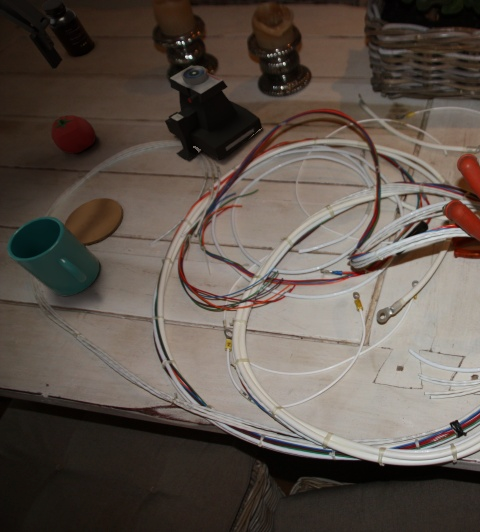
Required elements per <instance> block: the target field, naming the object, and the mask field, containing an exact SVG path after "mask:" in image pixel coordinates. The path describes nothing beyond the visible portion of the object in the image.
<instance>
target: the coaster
mask: <svg viewBox="0 0 480 532" xmlns="http://www.w3.org/2000/svg"><path fill="white" fill-rule="evenodd" d="M123 217H124V211H123V208H122V206H121V205H120V203H119V202H118V201H116V200H114V199H112V198H108V197H106V198H105V197H99V198H95V199H91V200H88V201H86V202H84V203H82V204H80V205H78V207H77V208H75V209H74V210H73V211H72V212H71V213H70V214H69V215H68V217H67V218H66V220H65V222H64V225H65V226H66V227H67V228H68V229H69V230H70V231H71V232H72V233H73V234H74V235H75V236H76V237H77V238H78V239H79V240H80V241H81V242H82V243H83V244H84V245H85V246H89V245H93V244H96V243H99V242H101V241H103V240H105V239H107V238H108V237H110V236H111V235H112V234H113V233H115V231H116V230H117V229H118V228H119V227H120V225H121V223H122V221H123Z"/></svg>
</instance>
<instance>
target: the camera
mask: <svg viewBox="0 0 480 532" xmlns="http://www.w3.org/2000/svg"><path fill="white" fill-rule="evenodd" d="M169 84H170V88H171V89H173V90H175V91H176V92H178V97H179V98H178V99H179V108H180V111H176V112H174V113H173V114H170V115H169V116H168V118H167V119H166V120H164V123H165V125H166V127H167V129H168V131H169V133H171V134H172V135H174V136H176V137H177V138H178V140H179V142H180V144H181V146H182V148H181V149H180V150H179V151H178V152H176V155H178V156H180V157H181V158H183V159H185V161H186V160H187V161H190V160H192V159H193V158H194V157H196V156H197V155H199V154H198V151H197V150H196V149H195V148H193V146H196V147H198V148H199V149H201V150H202V152H204V153H206V154H207V155H209V156H211V157H212V158H214V159H216V160H218V161H220V160H222V159H223V158H226V156H228V155H230V154H231V153H232V152H233V151H235V150H236V149H237V148H239V147H241V146H242V145H243V144H244V142H245V143H246V142H247V141H249V140H250V139H251V138H250V137H251V136H252V135H253V134H255V133H256V132H257V131H258V130H259V129H261V128H262V129H263V125H262V122H261V119H260V117H259V116H257V115H256V114H254V113H253V112H251V111H250V110H249V109H247V108H246V107H243V106H242V105H240V104H238V103H235V102H234V101H231V100H230V99H229V98H228V97H227V95H226V94H225V93H224V92H223V91H224V90H225V89H227V88H228V85H227V84H226V82H225V80H223V79H222V78H219V77H218V76H216V75H213V74H212V73H209V72H207V69H206V68H205V67H204V66H202V65H192V64H191V65H190V66H188V67H186V68H185V69H183V70H180V71H179V72H178V73H176V74H174V75H172V76H171V77H169ZM249 138H250V139H249ZM248 139H249V140H248Z"/></svg>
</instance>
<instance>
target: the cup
mask: <svg viewBox="0 0 480 532" xmlns="http://www.w3.org/2000/svg"><path fill="white" fill-rule="evenodd" d="M6 251H7V255H8V256H9V257H10V258H11V259H12V260H13V261H14V262H15V263H17V264H18V265H19V266H20V267H21V268H22V269H24V270H25V271H26V272H27V273H28V274H30V275H31V276H32V277H33V278H35V279H36V280H37V281H38V282H40V284H42V285H43V286H45V288H46V289H48V290H49V291H50V292H51V293H54V294H55V295H57V296H62V297H69V296H73V295H76V294H80V293H82V292H83V291H85V290H86V289H88V288H89V287H90V286H91V285H92V284H93V283H94V282H95V280H96V279H97V277H98V276H99V273H100V262H99V260H98V258H97V257H96V256H95V254H93V253H92V251H91V250H90V249H89V248H88V247H87V246H86V245H84V244H83V243H82V242H81V241H80V240H79V239H78V238H77V237H76V236H75V235H74V234H73V233H72V232H71V231H70V230H69V229H68V228H67V227H66V226H65V223H63V221H62V220H60V219H59V218H57V217H55V216H54V217H53V216H41V217H36V218H33V219H31V220H28V221H27V222H26V223H24V224H22V225H20V226H19V227H18V228H17V229H15V231H14V232H13V233H12V234H11V236H10V238H9V240H8V242H7V246H6Z"/></svg>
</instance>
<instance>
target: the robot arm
mask: <svg viewBox="0 0 480 532" xmlns="http://www.w3.org/2000/svg"><path fill="white" fill-rule="evenodd" d="M0 16H2V17H3V18H5V19H6V20H8V21H10V22H12V23H13V24H15V25H16V26H18V27H20V28H22V29H23V30H24V31H26V32H28V33H30V34H29V36H28V37H29V39H30V40H31V42H32V43H33V44H34V46H35V47H36V49H37V50H38V51H39V52H40V54H41V55H42V56H43V58H44V59H45V61H46V62H47V63H48V65H49V66H50V68H52V69H53V70H54V69H57V68H58V66H60V64H61V63H62V61H63V58H62V57H61V55H60V54H59V52H58V51H57V50H56V48H55V47H54V46H55V42H54V41H53V40H52V38H51V37H50V35H49V34H48V32H47V31H46V30H47V28H48V27H49V26H48V25H49V24H50V22H51V21H50V19H49V18H47V17H48V16H47V15H46V14H45V13H43V12H42V11H40V10H39V9H38V8H36V7H35V6H34V5H33V4H32V3H30V2H29V0H0Z"/></svg>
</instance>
